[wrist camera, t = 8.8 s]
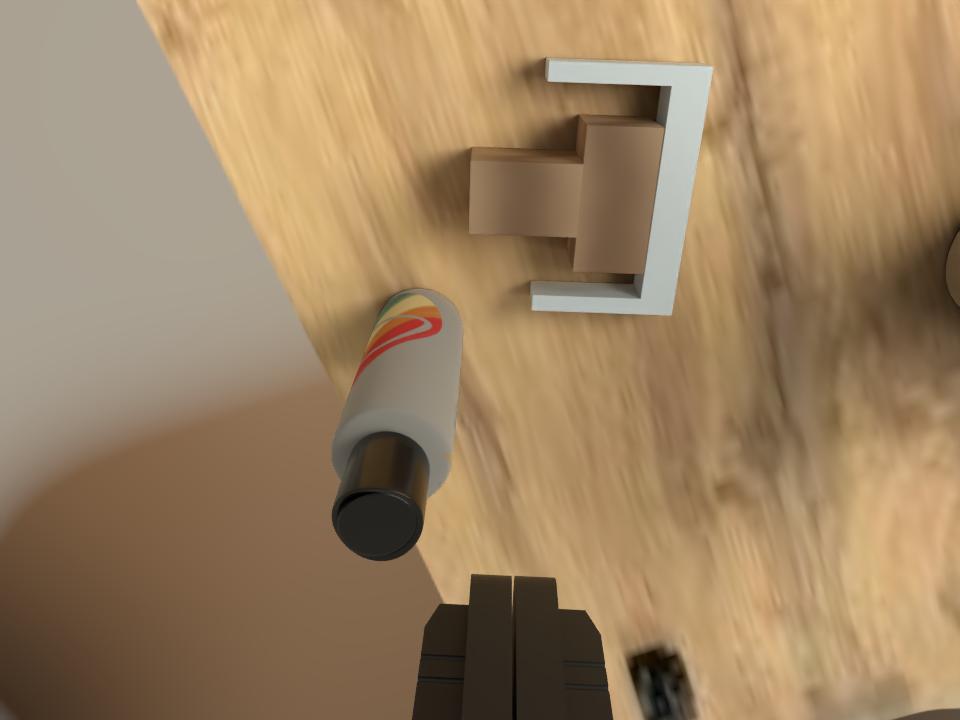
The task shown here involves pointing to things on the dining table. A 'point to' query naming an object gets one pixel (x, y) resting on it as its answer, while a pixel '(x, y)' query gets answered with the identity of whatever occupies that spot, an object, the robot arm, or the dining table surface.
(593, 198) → the t block
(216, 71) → the dining table surface
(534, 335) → the dining table surface
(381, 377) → the lotion bottle
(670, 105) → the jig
